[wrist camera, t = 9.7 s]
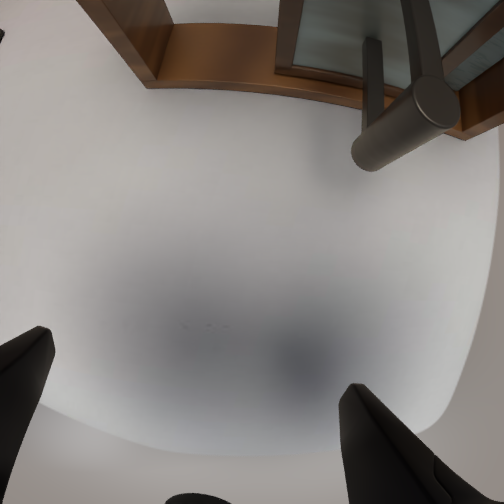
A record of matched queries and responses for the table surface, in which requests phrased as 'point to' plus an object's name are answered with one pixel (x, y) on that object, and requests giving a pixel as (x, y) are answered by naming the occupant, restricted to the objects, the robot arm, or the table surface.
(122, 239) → the table surface
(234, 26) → the wooden cabinet
